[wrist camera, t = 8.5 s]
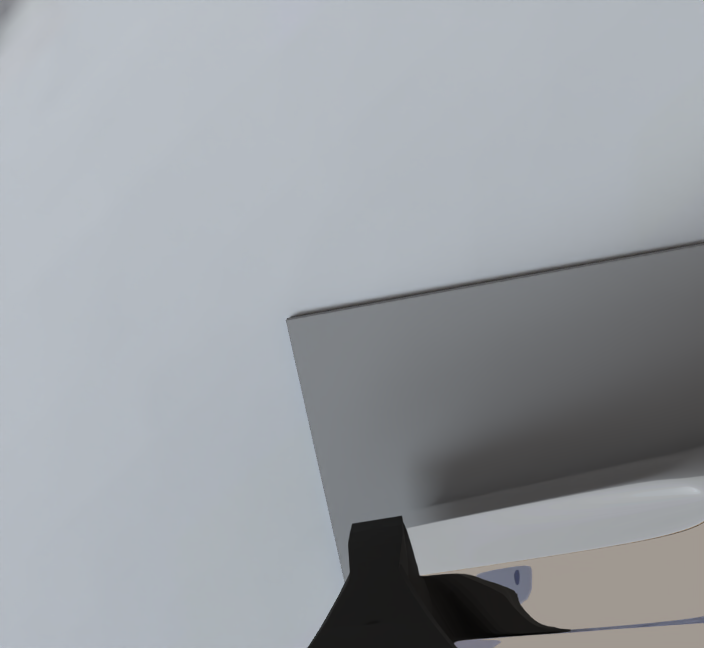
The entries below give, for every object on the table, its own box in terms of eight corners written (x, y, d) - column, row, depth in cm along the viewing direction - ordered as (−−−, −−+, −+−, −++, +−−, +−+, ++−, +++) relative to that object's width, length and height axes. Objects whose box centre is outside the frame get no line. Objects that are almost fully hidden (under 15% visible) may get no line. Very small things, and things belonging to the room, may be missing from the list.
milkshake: (406, 452, 15) (852, 381, 14) (444, 698, 14) (961, 651, 12) (372, 427, 11) (1014, 320, 9) (421, 781, 9) (1219, 725, 8)
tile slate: (800, 688, 15) (806, 695, 14) (382, 742, 15) (382, 750, 15) (794, 226, 12) (802, 227, 12) (287, 318, 13) (286, 321, 12)
